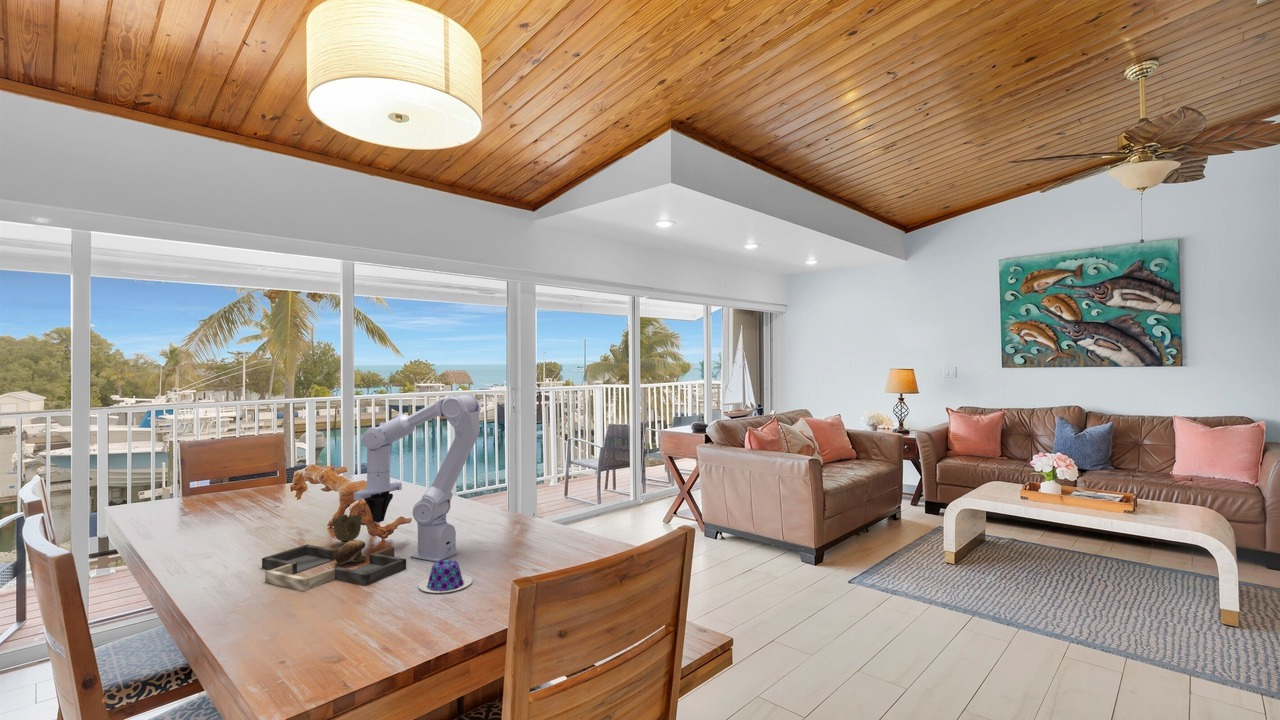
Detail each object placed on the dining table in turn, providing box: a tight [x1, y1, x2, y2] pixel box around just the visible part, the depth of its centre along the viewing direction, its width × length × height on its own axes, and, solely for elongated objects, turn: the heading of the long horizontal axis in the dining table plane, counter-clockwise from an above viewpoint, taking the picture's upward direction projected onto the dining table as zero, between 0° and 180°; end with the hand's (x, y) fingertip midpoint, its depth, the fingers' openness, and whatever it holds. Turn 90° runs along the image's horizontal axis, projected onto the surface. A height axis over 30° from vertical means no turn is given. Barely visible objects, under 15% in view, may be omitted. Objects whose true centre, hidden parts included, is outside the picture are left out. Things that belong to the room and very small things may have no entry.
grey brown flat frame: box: [261, 544, 407, 592], centre depth 153 cm, size 33×26×2 cm
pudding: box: [417, 559, 473, 594], centre depth 142 cm, size 12×12×5 cm
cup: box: [332, 513, 363, 547], centre depth 172 cm, size 8×7×8 cm
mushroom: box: [335, 539, 368, 566], centre depth 157 cm, size 8×8×6 cm
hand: (378, 521), depth 165 cm, fingers closed
